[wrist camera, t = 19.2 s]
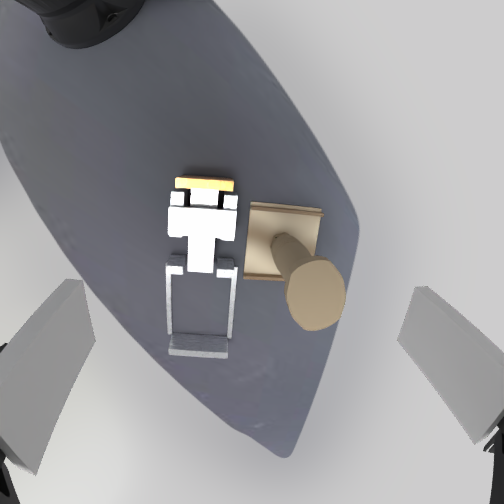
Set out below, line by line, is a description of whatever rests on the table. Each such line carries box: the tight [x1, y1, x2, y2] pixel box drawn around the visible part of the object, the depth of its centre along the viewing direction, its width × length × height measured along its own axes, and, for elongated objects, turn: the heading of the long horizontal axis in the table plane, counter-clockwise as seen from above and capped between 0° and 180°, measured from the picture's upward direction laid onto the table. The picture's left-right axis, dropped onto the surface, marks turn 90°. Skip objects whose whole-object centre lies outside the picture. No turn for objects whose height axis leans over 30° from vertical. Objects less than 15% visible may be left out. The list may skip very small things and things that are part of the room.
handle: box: [270, 232, 346, 331], centre depth 30 cm, size 5×6×15 cm
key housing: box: [168, 188, 238, 241], centre depth 33 cm, size 5×7×5 cm
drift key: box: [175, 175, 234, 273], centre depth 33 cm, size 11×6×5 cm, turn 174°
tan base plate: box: [243, 201, 324, 281], centre depth 37 cm, size 10×9×2 cm
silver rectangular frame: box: [166, 254, 238, 358], centre depth 37 cm, size 13×9×4 cm
